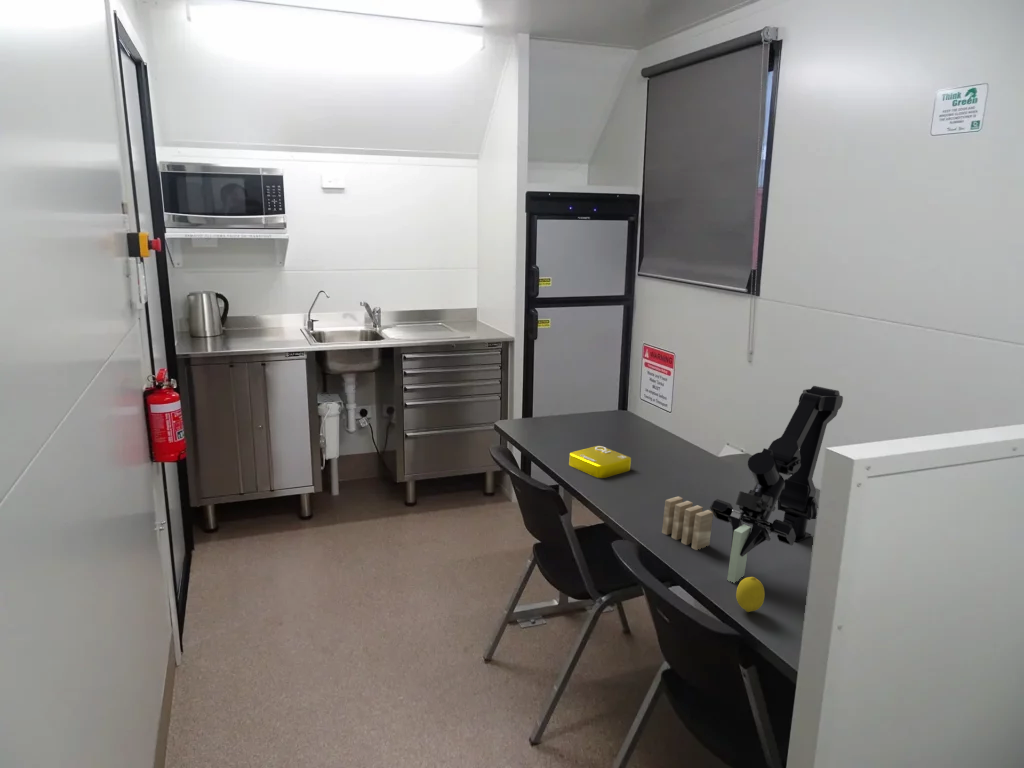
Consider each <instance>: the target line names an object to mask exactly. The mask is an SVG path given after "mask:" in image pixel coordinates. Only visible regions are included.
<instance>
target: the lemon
mask: <svg viewBox="0 0 1024 768" xmlns="http://www.w3.org/2000/svg"><path fill="white" fill-rule="evenodd" d="M765 593H766V592H765V588H764V585H763V583H762V582H761V581H760V580H759V579H757V578H756V577H754V576H748V577H743V578H742V579H740V581H739V584H738V585H737V588H736V593H735V597H736V601H737V603H738V605H739V606H740V607H741V609H743V610H744V611H745V612H746V613H749V612H754V611H757V610H759V609H760V608H761V607H762V606H763V604H764V602H765V595H766V594H765Z"/></svg>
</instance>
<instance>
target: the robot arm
mask: <svg viewBox="0 0 1024 768" xmlns="http://www.w3.org/2000/svg"><path fill="white" fill-rule="evenodd" d="M843 400H844V397H843V395H840V391H839V390H838V389H833V388H832V389H831V388H827V387H822V386H818V385H812V386H811V388H806V389H803V390H802V393H801V394H800V396H799V399H798V404H797V406H796V408H795V409H794V410H795V411H794V412H793V414H792V416H791V418H790V420H789V421H788V424H787V426H786V427H785V429H784V432H783V433H782V434H781V436H780V437H779V438H776V439H775V440H773V441H772V442H771V443H770V444H769V446H768V448H763V449H762V451H760V452H756V453H754V454H753V455H751V456H750V457H749V458H748V460H747V467H748V469H749V473H750V474H751V476H752V479H753V481H754V482H755V484H754V487H753V488H752V489H750V490H749V491H748V492H744V491H741V490H739V491H738V492H739V493H738V495H737V498H736V502H735V505H737V506H738V509H739V510H740V511H739V510H736V509H734V507H733V505H732V504H731V503H730V502H727V501H724V500H721V499H718V498H717V499H714V500H713V501H712V502H711V504H710V506H709V510H710V511H712V512H713V517H714V518H715V519H718V521H719V520H720V521H722V522H725V523H730V524H731V527H732V529H731V530H732V536H731V542H732V541H733V534H734V530H735V529H737V528H739V527H740V526H742V525H743V524H745V525H747V524H748V525H749V526H751V533H750V535H749V537H748V539H747V540H746V542H745V544H744V546H743V548H742V550H741V553H740V556H742V557H743V556H744V555H745V554H746V553H747V554H748V553H749V552H750V551H752V550H754V549H755V548H756V547H757V546H758V545H760V544H762V543H764V542H766V541H768V542H770V541H771V540H772V539H771V536H772V534H774V535H775V534H776V537H777V539H778V541H779V542H780V543H783V544H786V545H789V546H793V545H794V543H795V542H802V541H803V540H806V539H808V538H810V537H812V533H809V532H807V528H808V522H809V521H812V520H817V517H816V516H818V513H817V508H818V509H819V505H818V501H817V498H816V492H817V491H816V486H815V484H814V483H815V482H814V481H813V477H814V475H815V469H816V465H817V462H818V459H819V455H820V453H821V452H820V451H821V446H822V443H823V440H824V436H825V433H826V428H827V425H828V424H829V423H830V422H831V421H832V420H834V419H835V418H836V417H837V415H838V412H839V410H840V409H841V408H842V405H843V402H844V401H843ZM781 474H783V475H786V476H789V477H788V478H786V479H784V477H783V476H782V475H781ZM776 504H777V511H782V512H784V515H783V519H782V520H779V519H778V518H776V519H774V520H773V522H769V521H768V520H769V519H770V516H771V514H772V512H775V510H776ZM741 511H742V512H741ZM730 545H731V546H730V549H731V548H732V543H731V544H730Z"/></svg>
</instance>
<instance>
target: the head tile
mask: <svg viewBox="0 0 1024 768" xmlns="http://www.w3.org/2000/svg"><path fill="white" fill-rule="evenodd" d="M751 530H752V526H751V525H749V524H748V525H747V524H746V523H745V524H743V525H742V526H740V527H739V528H737V529H735V530H734V534H733V541H732V540H731V544H732V548H731V547H730V555H729V565H728V570H727V577H726V581H727V580H728V581H727V582H730V581H731V582H730V583H732V582H733V583H732V584H736V583H737V582H738V581H740V580H741V579H742V578H741V577H743V576H744V577H745V574H746V573H745V572H746V565H747V558H748V553H746V554H745V555H744V556H743V557H742V556H740V553H741V550H742V548H743V546H744V544H745V542H746V540H747V539H748V537H749V535H750V533H751ZM744 577H743V578H744ZM740 578H741V579H740ZM739 579H740V580H739ZM736 581H737V582H736ZM735 582H736V583H735Z"/></svg>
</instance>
